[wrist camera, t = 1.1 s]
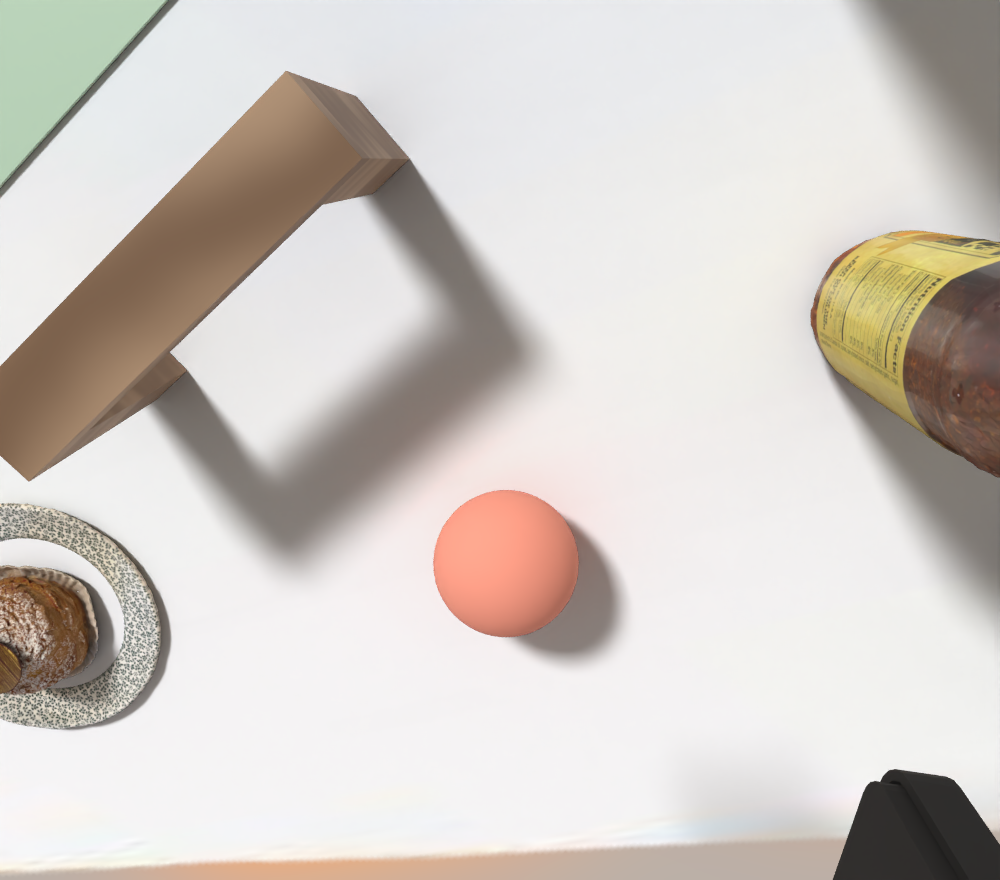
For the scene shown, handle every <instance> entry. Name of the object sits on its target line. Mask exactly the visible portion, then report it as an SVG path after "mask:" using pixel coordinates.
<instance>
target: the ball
mask: <svg viewBox="0 0 1000 880" xmlns="http://www.w3.org/2000/svg"><path fill="white" fill-rule="evenodd" d="M433 565H434V575H435V581H436V585H437V588H438V591H439V593H440V595H441V597H442V599H443V601H444V602H445V604H446V605H447V607H448V608H449V610H450V611H451V612H452V613H453V614H454V615H455V616H456V617H457V618H458V619H459V620H460V621H462V622H463V623H464V624H466V625H467V626H469V627H470V628H472V629H474V630H476V631H478V632H481V633H484V634H487V635H491V636H498V637H515V636H521V635H526V634H528V633H531V632H534V631H536V630H538V629H540V628H542V627H543V626H545V625H547V624H548V623H550V622H551V621H552V620H553V619H554V618H556V617H557V616H558V614H559V613H560V612H561V611H562V610H563V609H564V607H565V606H566V604H567V603H568V601H569V600H570V598H571V596H572V594H573V591H574V588H575V585H576V582H577V577H578V567H579V558H578V550H577V546H576V542H575V539H574V536H573V534H572V532H571V530H570V528H569V526H568V525H567V523H566V522H565V520H564V519H563V518H562V516H561V515H560V514H559V513H558V512H557V511H556V510H555V509H554V508H553V507H552V506H550V505H549V504H548V503H546V502H545V501H543V500H541V499H539V498H538V497H535V496H533V495H530V494H528V493H524V492H520V491H513V490H500V491H492V492H488V493H485V494H482V495H479V496H477V497H475V498H473V499H471V500H469V501H467V502H466V503H464V504H463V505H462V506H460V507H459V508H458V509H457V510H456V511H455V512H454V513H453V514H452V515H451V517H450V518H449V519H448V520H447V521H446V523H445V525H444V526H443V528H442V530H441V532H440V535H439V537H438V539H437V543H436V546H435V552H434V561H433Z"/></svg>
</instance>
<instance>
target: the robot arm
mask: <svg viewBox="0 0 1000 880" xmlns="http://www.w3.org/2000/svg"><path fill="white" fill-rule="evenodd" d="M833 880H1000V844H999V843H998V842H997V840H996V839H995V837H994V836H993V834H992V833H991V831H990V830H989V828H988V827H987V826H986V824H985V823H984V821H983V820H982V818H981V817H980V815H979V814H978V812H977V811H976V810H975V808H974V807H973V805H972V804H971V802H970V801H969V799H968V798H967V797H966V795H965V794H964V792H963V791H962V789H961V788H960V787H959V786H958V784H957V783H956V782H955V781H954V780H952V779H950V778H948V777H945V776H938V775H931V774H924V773H917V772H910V771H904V770H897V769H894V770H889V771H888V772H887V773H886V774H885V775H884V776H883V777H882V779H881V781H880V782H877V781H874V782H870V783H869V784H868V785H867V786H866V788H865V790H864V792H863V795H862V798H861V801H860V804H859V806H858V809H857V812H856V815H855V818H854V821H853V824H852V826H851V829H850V832H849V835H848V838H847V841H846V844H845V846H844V849H843V852H842V855H841V858H840V861H839V863H838V866H837V869H836V872H835V875H834V878H833Z"/></svg>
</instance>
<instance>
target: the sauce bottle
mask: <svg viewBox="0 0 1000 880" xmlns="http://www.w3.org/2000/svg"><path fill="white" fill-rule="evenodd" d="M811 326H812V328H813V331H814V335H815V339H816V341H817V342H818V345H819V347H820V349H821V350H822V351H823V353H824V355H825V357H826V358H827V360H828V361H829V363H830V364H831V365H832V367H833V368H834V369H835V370H836V371H837V372H838V373H840V374H841V375H843V376H845V377H846V379H847V380H848V381H849V382H850V383H852V384H853V385H855V386H856V387H857V388H859V389H860V390H862V391H863V392H864V393H866V394H867V395H869V396H870V397H871V398H873V399H874V400H876V401H877V402H879V403H880V404H882V405H883V406H885V407H886V408H887V409H889V410H890V411H892V412H893V413H895V414H896V415H898V416H899V417H901V418H902V419H903V420H905V421H906V422H908V423H909V424H910V425H912V426H913V427H915V428H916V429H918V430H919V431H920V432H922V433H923V434H925V435H926V436H928V437H929V438H931V439H932V440H934V441H935V442H936V443H938V444H939V445H941V446H942V447H944V448H946V449H947V450H949V451H951V452H953V453H955V454H957V455H960V456H962V457H964V458H965V459H966V460H967V461H969V462H971V463H973V464H974V465H975V466H976V467H977V468H978V469H981V470H984V471H986V472H988V473H991V474H992V475H994V476H996V477H1000V242H994V241H989V240H985V239H973V238H967V237H961V236H954V235H947V234H940V233H933V232H926V231H899V232H891V233H888V234H885V235H881V236H878V237H876V238H873V239H870V240H866V241H864V242H862V243H861V244H859V245H856V246H854V247H853V248H851V249H850V250H848V251H846V252H844V253H843V254H842V255H840V256H839V257H838V258H837V259H835V260H834V262H833V263H832V264H831V266H830V268H829V269H828V271H827V272H826V274H825V276H824V277H823V278H822V281H821V283H820V285H819V287H818V290H817V293H816V295H815V299H814V304H813V307H812V309H811Z"/></svg>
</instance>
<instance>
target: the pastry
mask: <svg viewBox="0 0 1000 880" xmlns="http://www.w3.org/2000/svg"><path fill="white" fill-rule="evenodd" d="M17 538H31V539H39V540H45V541H49V542H52V543H55V544H58V545H61V546H63V547H65V548H68V549H69V550H72V551H74V552H75V553H77V554H79V555H81V556H82V557H83V558H85V559H86V560H87V561H89V562H90V563H91V564H92V565H93V566H95V567H96V568H97V569H98V570H99V571H100V572H101V573H102V575H103V576H104V577H105V578H106V580H107V581H108V582H109V584H110V585H111V586H112V588H113V590H114V592H115V593H116V595H117V597H118V600H119V602H120V605H121V608H122V611H123V616H124V624H125V627H124V640H123V643H122V647H121V649H120V652H119V655H118V656H117V658H116V660H115V661H114V663H113V664H112V665H111V666H110V667H109V668H108V669H107V670H106V671H105V672H104V673H103V674H102V675H100V676H99V677H97V678H96V679H94V680H92V681H90V682H88V683H85V684H82V685H78V686H76V687H70V688H59V689H52V688H47V687H49V686H51V685H54V684H56V683H57V682H58V681H60V680H62V679H65V678H68V677H72V676H75V675H77V674H79V673H81V672H82V671H83V670H84V667H86V668H87V667H88V665H90V664H91V663H92V661H93V660H94V659H95V656H96V652H97V651H98V644H97V640H98V638H99V636H98V627H97V621H96V619H95V613H94V611H93V606H92V603H91V598H90V595H89V593H88V591H87V588H86V587H85V586H83V584H82V583H81V582H80V581H79V580H76V579H74V578H73V577H71V576H69V575H68V574H66V573H64V572H62V571H58V570H55V569H49V568H36V567H32V566H23V567H15V566H10V565H5V566H0V719H3V720H6V721H8V722H12V723H16V724H20V725H25V726H34V727H43V728H51V729H66V728H72V727H78V726H85V725H91V724H94V723H98V722H101V721H103V720H106V719H108V718H110V717H112V716H114V715H116V714H118V713H119V712H121V711H122V710H124V709H125V708H126V707H127V706H129V705H130V704H131V703H132V702H133V701H134V700H135V699H136V698H137V697H138V695H139V694H140V693H141V692H142V690H143V689H144V688H145V686H146V685H147V683H148V682H149V680H150V679H151V677H152V675H153V672H154V670H155V667H156V664H157V660H158V655H159V652H160V645H161V627H160V620H159V614H158V609H157V606H156V604H155V601H154V597H153V595H152V592H151V590H150V589H149V588H148V586H147V583H146V581H145V579H144V578H143V575H142V574H141V573H140V572H139V571H138V570H137V568H136V566H135V564H134V563H133V562H132V561H131V560H130V559H129V558H128V557H127V556H126V555H125V554H124V553H123V551H122V550H121V549H119V548H118V546H117V545H116V544H115V543H114V542H113V541H111V540H110V539H109V538H108V537H107V536H104V535H102V534H101V533H100V532H98V531H96V530H95V529H94V528H92V527H90V526H89V525H88V524H85V523H84V522H83V521H80V520H78V519H76V518H73V517H71V516H68V515H67V514H66V513H63V512H60V511H57V510H55V509H47V508H43V507H40V506H34V505H29V504H12V503H10V504H9V503H8V504H0V541H4V540H9V539H17ZM77 591H79V592H77Z"/></svg>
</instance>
